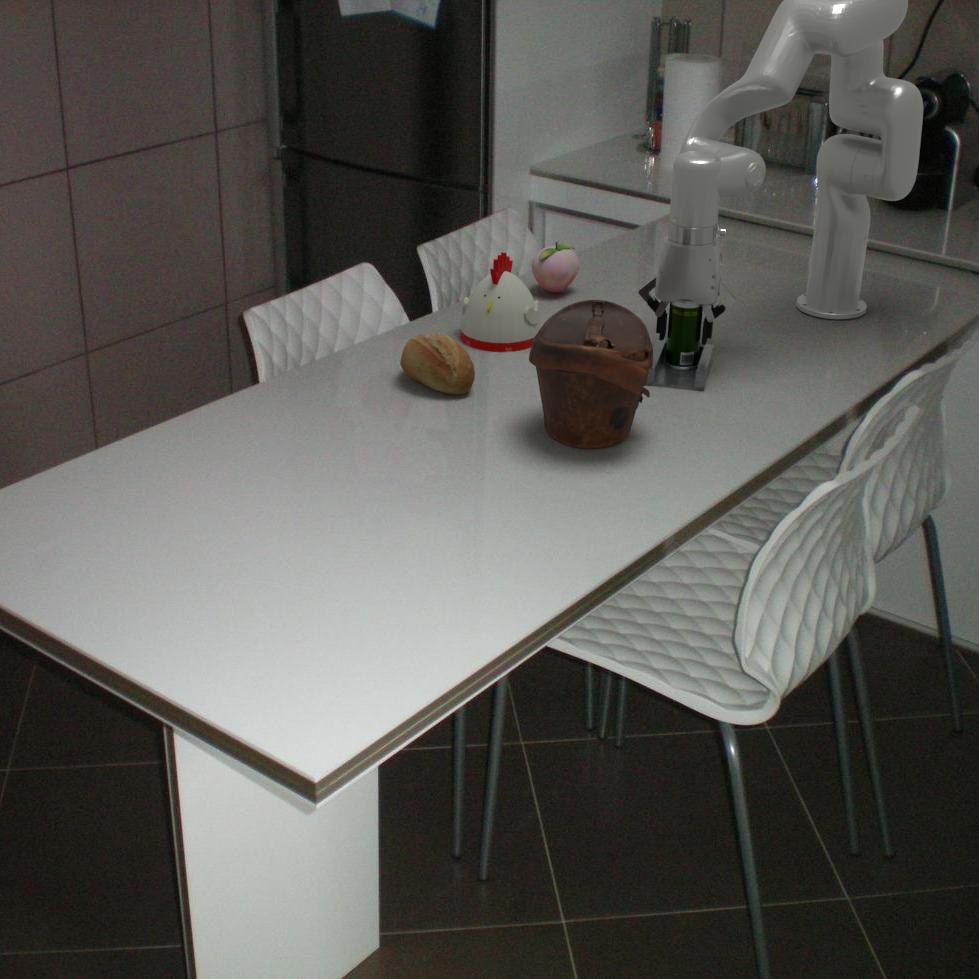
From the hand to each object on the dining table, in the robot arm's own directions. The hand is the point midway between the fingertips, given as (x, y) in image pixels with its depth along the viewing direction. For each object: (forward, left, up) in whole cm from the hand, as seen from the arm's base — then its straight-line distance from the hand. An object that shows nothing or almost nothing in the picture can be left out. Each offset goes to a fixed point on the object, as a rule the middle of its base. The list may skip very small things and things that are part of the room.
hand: (683, 338), depth 225 cm
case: (+29, -10, -5) cm, 31 cm away
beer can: (0, 0, -5) cm, 5 cm away
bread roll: (+17, -37, -6) cm, 41 cm away
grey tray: (+2, 0, -5) cm, 6 cm away
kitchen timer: (-5, -32, -6) cm, 33 cm away
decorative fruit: (-30, -28, -5) cm, 42 cm away
